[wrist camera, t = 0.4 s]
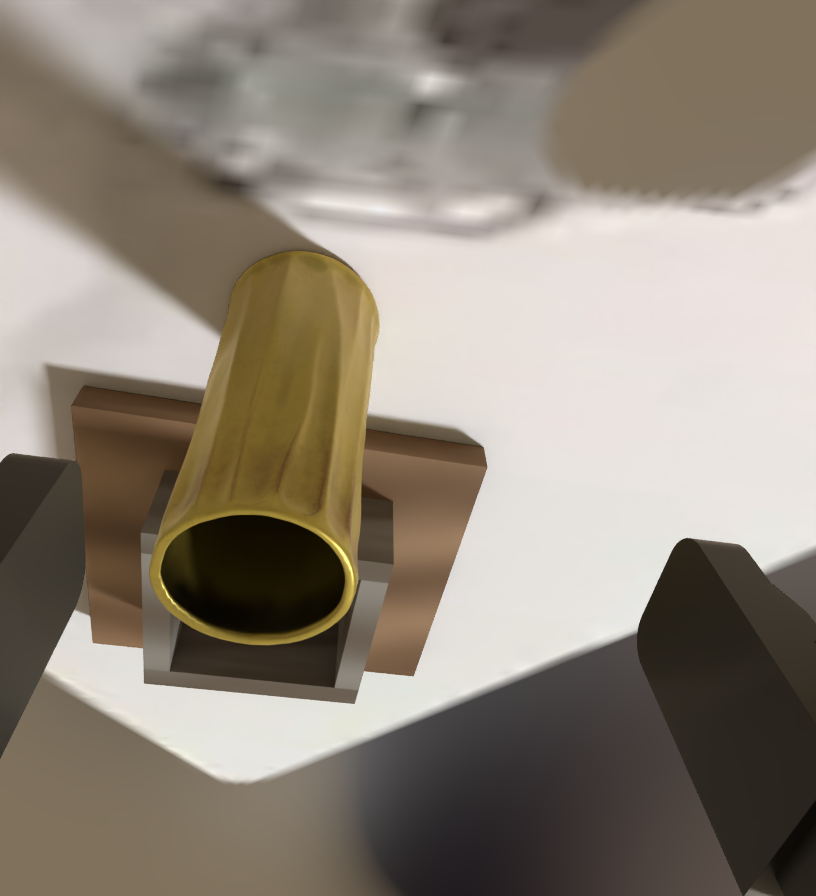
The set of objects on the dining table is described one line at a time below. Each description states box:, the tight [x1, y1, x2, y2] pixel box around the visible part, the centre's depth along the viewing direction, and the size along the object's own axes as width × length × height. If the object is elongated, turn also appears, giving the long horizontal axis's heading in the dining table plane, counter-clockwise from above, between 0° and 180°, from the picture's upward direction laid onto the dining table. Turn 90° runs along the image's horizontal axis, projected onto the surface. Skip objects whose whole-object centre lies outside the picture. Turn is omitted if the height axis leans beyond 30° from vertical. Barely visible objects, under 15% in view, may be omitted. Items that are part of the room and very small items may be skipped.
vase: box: [149, 251, 379, 645], centre depth 24 cm, size 6×6×14 cm
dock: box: [71, 386, 487, 704], centre depth 35 cm, size 16×18×6 cm
